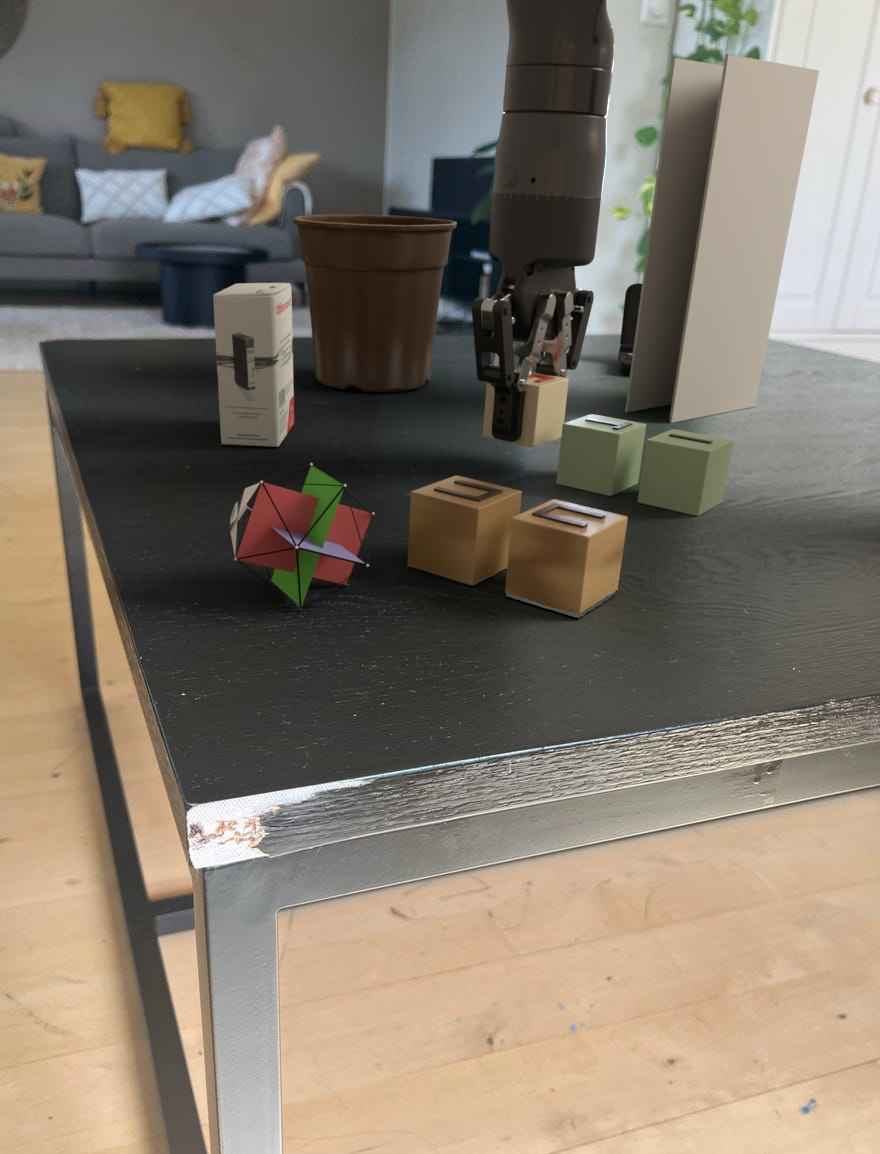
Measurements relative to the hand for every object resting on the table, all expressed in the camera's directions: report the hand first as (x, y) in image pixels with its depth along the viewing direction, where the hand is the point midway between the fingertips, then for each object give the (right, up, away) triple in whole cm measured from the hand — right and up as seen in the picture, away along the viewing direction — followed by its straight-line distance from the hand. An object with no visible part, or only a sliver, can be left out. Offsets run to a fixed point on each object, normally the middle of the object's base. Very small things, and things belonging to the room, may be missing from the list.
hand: (523, 432), depth 76 cm
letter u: (-1, -13, -22) cm, 26 cm away
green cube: (+5, -4, -2) cm, 7 cm away
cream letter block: (0, 0, 0) cm, 0 cm away
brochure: (+20, +7, +23) cm, 31 cm away
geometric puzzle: (-14, -14, -23) cm, 30 cm away
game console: (+25, +17, +44) cm, 53 cm away
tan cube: (-6, -12, -19) cm, 23 cm away
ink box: (-21, +1, +7) cm, 23 cm away
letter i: (+10, -6, -6) cm, 13 cm away
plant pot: (-13, +11, +30) cm, 34 cm away
